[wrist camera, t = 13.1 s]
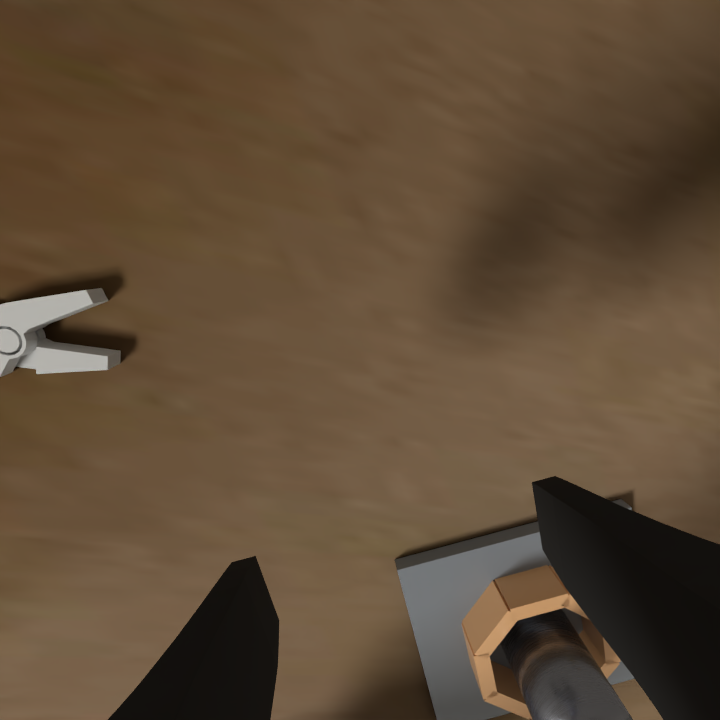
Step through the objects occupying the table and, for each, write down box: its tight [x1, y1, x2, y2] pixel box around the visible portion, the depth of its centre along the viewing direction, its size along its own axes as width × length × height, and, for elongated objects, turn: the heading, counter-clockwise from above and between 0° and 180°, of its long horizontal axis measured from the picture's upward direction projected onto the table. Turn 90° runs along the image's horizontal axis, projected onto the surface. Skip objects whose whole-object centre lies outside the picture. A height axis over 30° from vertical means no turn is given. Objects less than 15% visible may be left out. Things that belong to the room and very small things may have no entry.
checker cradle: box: [395, 499, 634, 720], centre depth 23 cm, size 13×12×3 cm
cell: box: [500, 609, 633, 720], centre depth 21 cm, size 4×4×6 cm
